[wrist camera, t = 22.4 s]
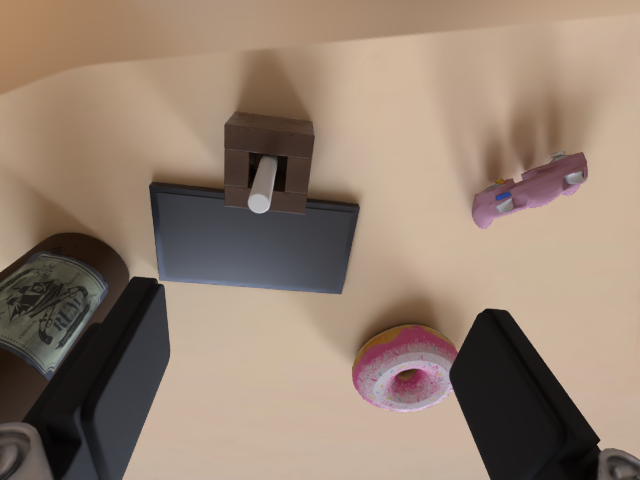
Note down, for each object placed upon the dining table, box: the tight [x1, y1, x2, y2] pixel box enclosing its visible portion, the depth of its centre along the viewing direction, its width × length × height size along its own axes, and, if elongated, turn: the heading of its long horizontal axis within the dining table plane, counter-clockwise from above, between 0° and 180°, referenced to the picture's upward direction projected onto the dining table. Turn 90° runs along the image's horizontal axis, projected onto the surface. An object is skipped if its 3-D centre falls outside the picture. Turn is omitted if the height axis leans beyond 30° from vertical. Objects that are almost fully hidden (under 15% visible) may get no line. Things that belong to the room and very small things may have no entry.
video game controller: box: [472, 151, 588, 229], centre depth 33 cm, size 10×5×7 cm, turn 115°
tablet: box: [149, 182, 360, 294], centre depth 37 cm, size 11×20×1 cm, turn 82°
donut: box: [352, 325, 458, 412], centre depth 45 cm, size 14×13×5 cm
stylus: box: [248, 154, 279, 213], centre depth 27 cm, size 1×1×12 cm
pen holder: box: [224, 112, 315, 214], centre depth 31 cm, size 7×7×5 cm
